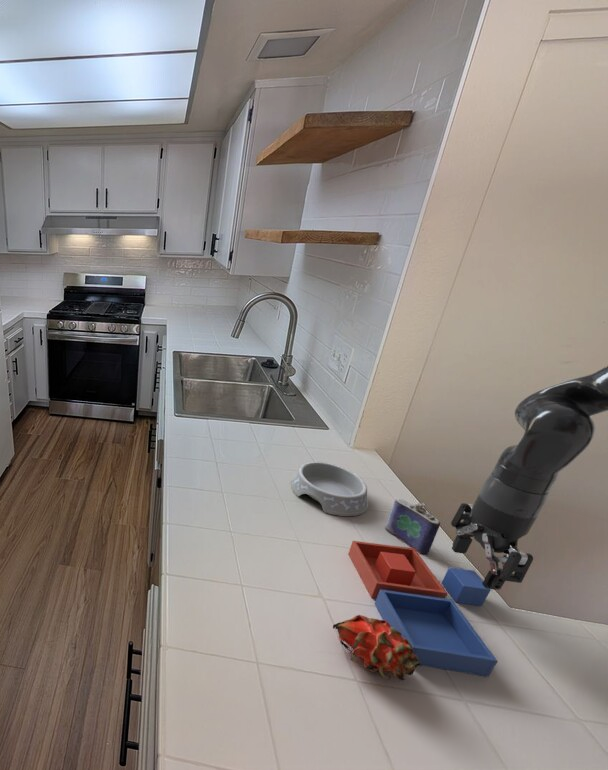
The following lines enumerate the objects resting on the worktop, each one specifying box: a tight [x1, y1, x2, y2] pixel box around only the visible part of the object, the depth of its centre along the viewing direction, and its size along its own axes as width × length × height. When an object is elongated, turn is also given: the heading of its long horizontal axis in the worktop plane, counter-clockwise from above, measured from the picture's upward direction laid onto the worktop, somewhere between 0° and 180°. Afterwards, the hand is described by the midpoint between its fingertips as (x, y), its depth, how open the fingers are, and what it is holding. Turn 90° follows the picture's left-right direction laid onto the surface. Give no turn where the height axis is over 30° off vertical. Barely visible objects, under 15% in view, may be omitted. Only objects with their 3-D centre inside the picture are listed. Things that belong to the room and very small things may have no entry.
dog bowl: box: [290, 461, 368, 517], centre depth 105 cm, size 17×18×5 cm
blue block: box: [441, 567, 491, 607], centre depth 76 cm, size 4×4×4 cm
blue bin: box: [374, 589, 498, 678], centre depth 68 cm, size 12×11×4 cm
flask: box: [384, 498, 441, 556], centre depth 88 cm, size 9×3×11 cm, turn 21°
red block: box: [375, 552, 416, 586], centre depth 79 cm, size 4×4×4 cm
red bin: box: [347, 540, 448, 599], centre depth 80 cm, size 12×11×4 cm
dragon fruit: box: [332, 614, 421, 681], centre depth 65 cm, size 8×8×12 cm
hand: (472, 568), depth 74 cm, fingers open, 8 cm apart
